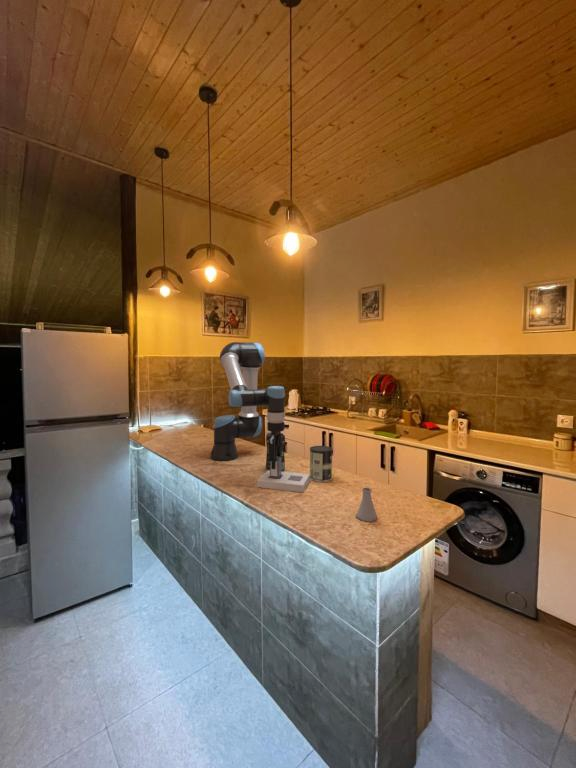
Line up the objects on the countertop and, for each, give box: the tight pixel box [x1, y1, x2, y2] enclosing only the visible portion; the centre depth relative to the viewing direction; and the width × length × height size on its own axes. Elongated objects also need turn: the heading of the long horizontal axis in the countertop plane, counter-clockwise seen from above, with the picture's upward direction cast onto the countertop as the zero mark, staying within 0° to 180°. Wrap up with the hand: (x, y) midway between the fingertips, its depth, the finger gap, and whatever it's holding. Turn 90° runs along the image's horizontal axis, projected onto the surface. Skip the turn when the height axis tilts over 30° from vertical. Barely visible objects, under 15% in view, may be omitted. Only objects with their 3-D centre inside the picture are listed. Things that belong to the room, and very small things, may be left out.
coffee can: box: [309, 445, 333, 483], centre depth 151 cm, size 10×10×14 cm
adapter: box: [270, 457, 282, 479], centre depth 145 cm, size 4×4×10 cm
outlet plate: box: [256, 469, 311, 493], centre depth 144 cm, size 14×20×3 cm
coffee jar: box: [265, 431, 286, 472], centre depth 163 cm, size 10×8×19 cm
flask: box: [355, 486, 378, 523], centre depth 113 cm, size 7×7×10 cm
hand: (275, 473), depth 145 cm, fingers open, 4 cm apart
